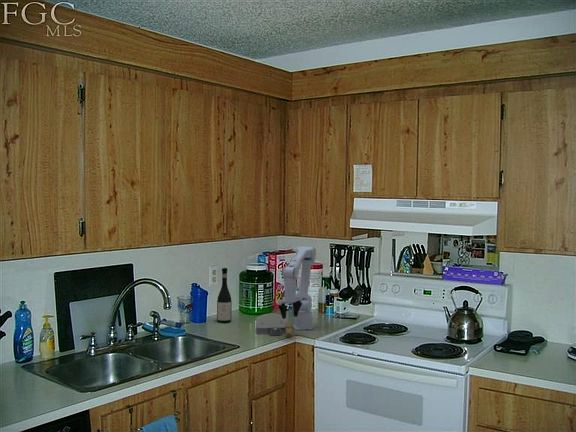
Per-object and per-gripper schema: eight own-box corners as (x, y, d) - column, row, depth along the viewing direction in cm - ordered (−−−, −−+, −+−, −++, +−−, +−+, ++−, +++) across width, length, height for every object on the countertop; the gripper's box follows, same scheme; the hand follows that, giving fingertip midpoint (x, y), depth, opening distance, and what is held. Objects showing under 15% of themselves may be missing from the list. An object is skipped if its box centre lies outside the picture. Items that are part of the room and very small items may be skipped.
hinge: (257, 333, 287) (255, 313, 289) (255, 334, 291) (254, 314, 294) (288, 331, 291) (286, 312, 294) (286, 332, 295) (284, 313, 298)
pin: (289, 335, 283) (289, 323, 283) (294, 337, 280) (294, 324, 280) (283, 336, 280) (283, 324, 280) (288, 338, 277) (288, 326, 277)
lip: (292, 332, 289) (292, 326, 289) (294, 335, 283) (294, 328, 283) (256, 333, 286) (256, 327, 285) (257, 336, 280) (257, 329, 280)
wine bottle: (231, 323, 307) (231, 269, 305) (216, 323, 306) (217, 269, 305) (231, 319, 315) (231, 267, 313) (217, 319, 314) (217, 267, 313)
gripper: (295, 287, 287) (295, 313, 288) (273, 291, 278) (273, 317, 279) (304, 290, 282) (304, 316, 282) (282, 293, 272) (282, 320, 273)
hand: (289, 317), depth 280 cm, fingers open, 7 cm apart
